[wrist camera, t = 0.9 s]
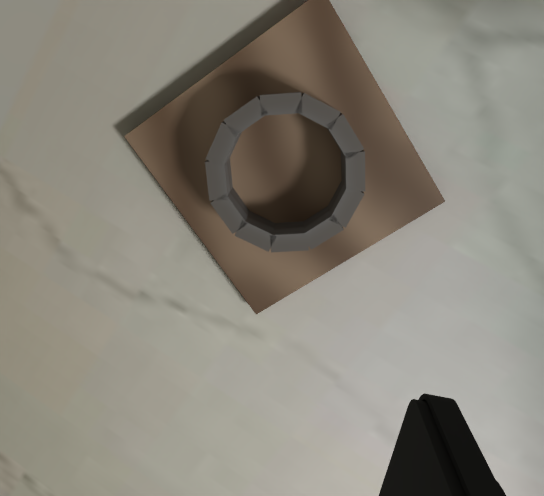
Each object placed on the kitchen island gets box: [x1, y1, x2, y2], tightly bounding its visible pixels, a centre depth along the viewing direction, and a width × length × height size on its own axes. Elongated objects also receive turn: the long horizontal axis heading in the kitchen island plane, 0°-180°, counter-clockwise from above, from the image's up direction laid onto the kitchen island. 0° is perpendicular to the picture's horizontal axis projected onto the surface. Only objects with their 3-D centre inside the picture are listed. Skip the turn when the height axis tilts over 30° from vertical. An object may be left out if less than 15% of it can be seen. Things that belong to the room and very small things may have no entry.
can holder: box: [124, 0, 445, 314], centre depth 33 cm, size 16×16×4 cm
